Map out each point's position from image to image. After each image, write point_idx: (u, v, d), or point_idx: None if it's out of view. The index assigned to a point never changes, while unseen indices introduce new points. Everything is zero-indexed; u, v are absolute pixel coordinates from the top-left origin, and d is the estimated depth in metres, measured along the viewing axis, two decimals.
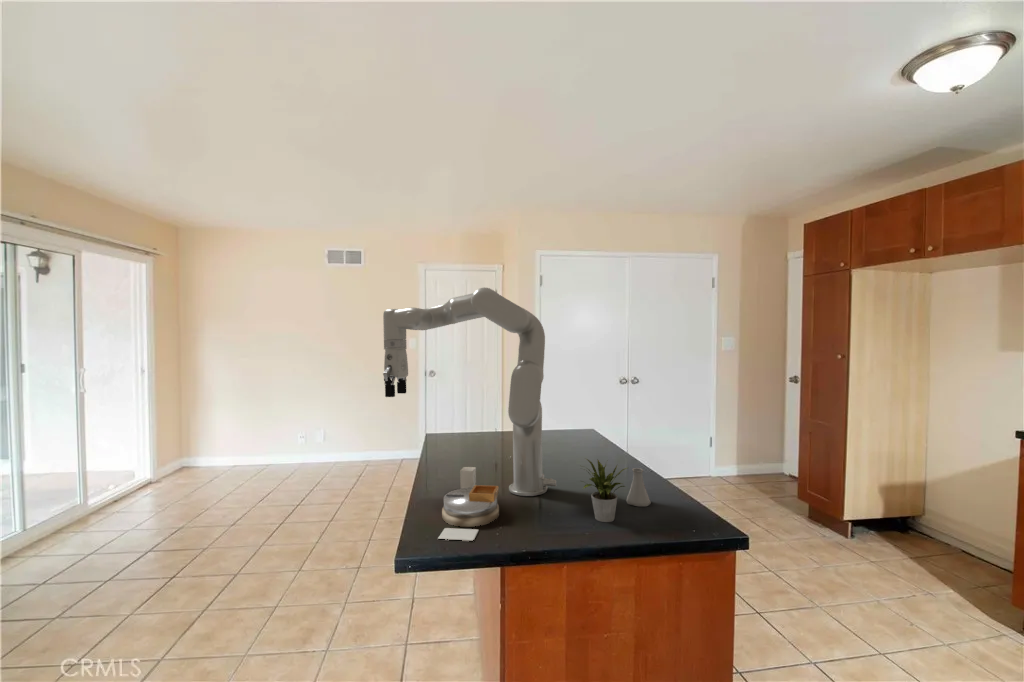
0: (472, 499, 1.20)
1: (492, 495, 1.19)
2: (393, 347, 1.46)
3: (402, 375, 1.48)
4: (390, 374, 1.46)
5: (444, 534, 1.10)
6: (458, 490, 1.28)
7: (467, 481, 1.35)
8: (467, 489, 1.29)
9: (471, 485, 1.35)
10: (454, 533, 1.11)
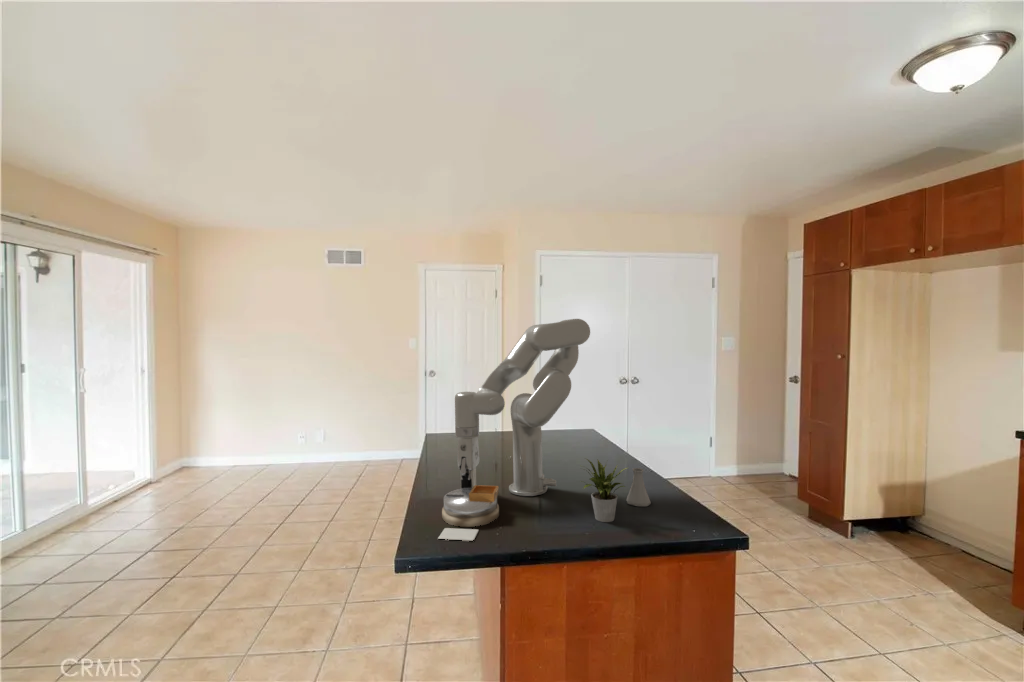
0: (472, 499, 1.20)
1: (492, 495, 1.19)
2: (467, 436, 1.34)
3: (475, 465, 1.36)
4: None
5: (444, 534, 1.10)
6: (458, 490, 1.28)
7: None
8: (467, 489, 1.29)
9: None
10: (454, 533, 1.11)
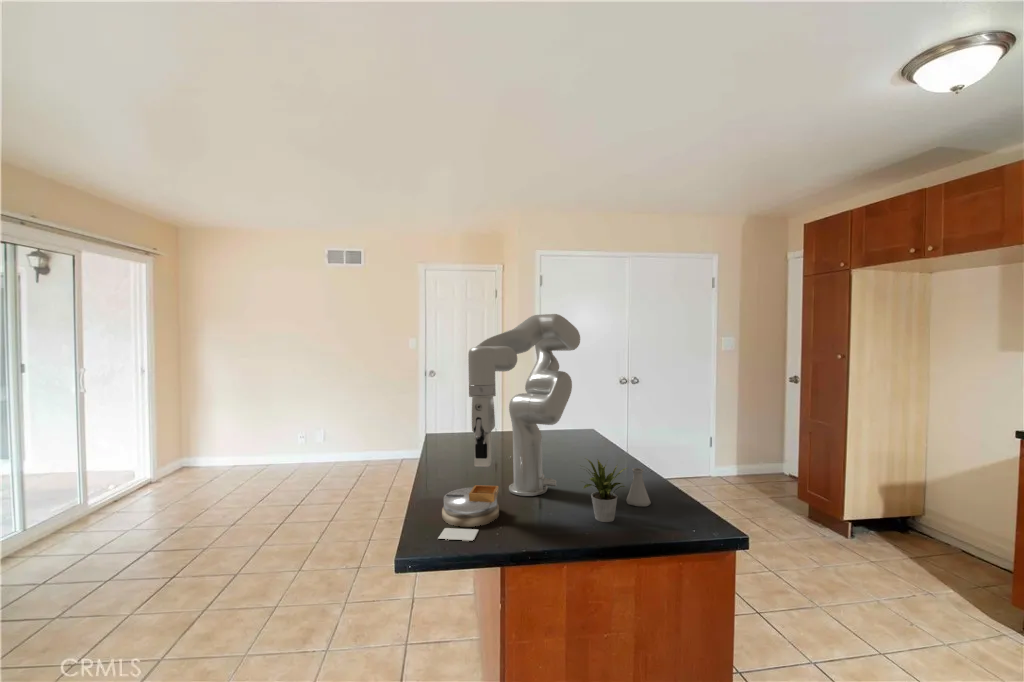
0: (472, 499, 1.20)
1: (492, 495, 1.19)
2: (482, 395, 1.19)
3: (491, 428, 1.21)
4: None
5: (444, 534, 1.10)
6: (458, 490, 1.28)
7: None
8: (467, 489, 1.29)
9: None
10: (454, 533, 1.11)
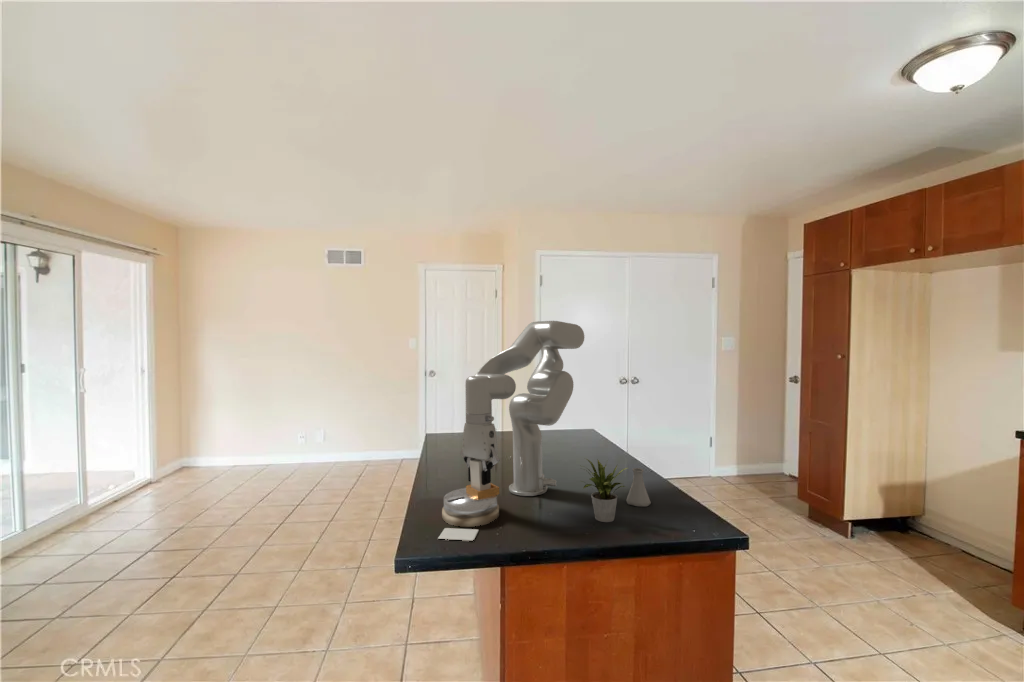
0: (480, 497, 1.21)
1: (498, 488, 1.24)
2: (490, 422, 1.25)
3: None
4: None
5: (444, 534, 1.10)
6: (448, 495, 1.24)
7: None
8: (455, 492, 1.26)
9: None
10: (454, 533, 1.11)
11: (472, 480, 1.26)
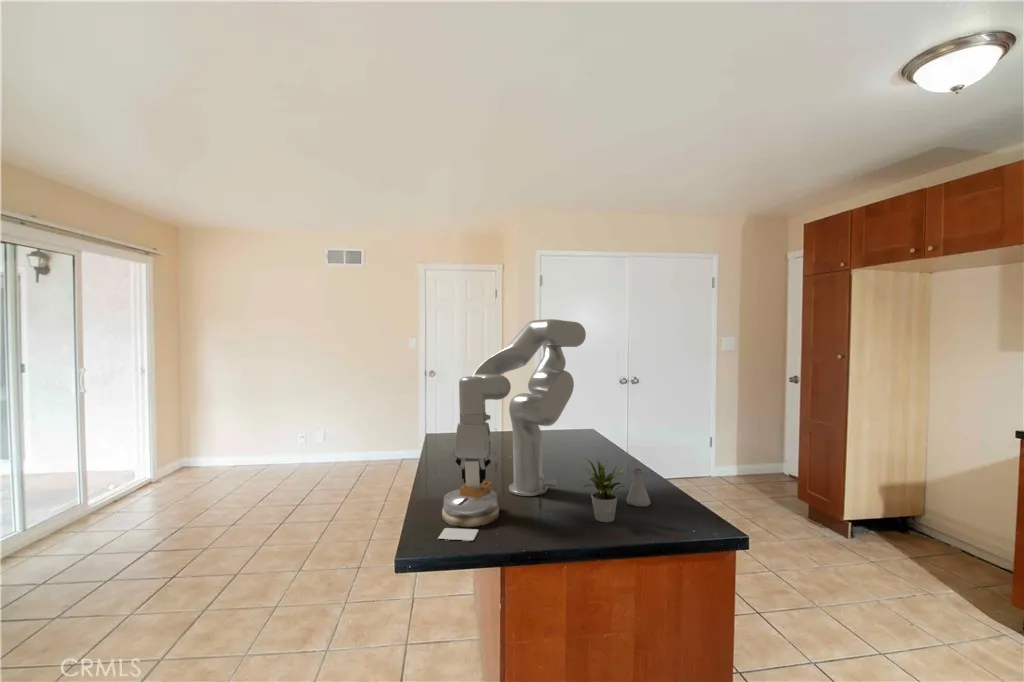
0: (483, 494, 1.24)
1: (491, 483, 1.29)
2: (485, 420, 1.28)
3: None
4: None
5: (444, 534, 1.10)
6: (448, 500, 1.21)
7: None
8: (451, 496, 1.23)
9: None
10: (454, 533, 1.11)
11: (468, 481, 1.25)
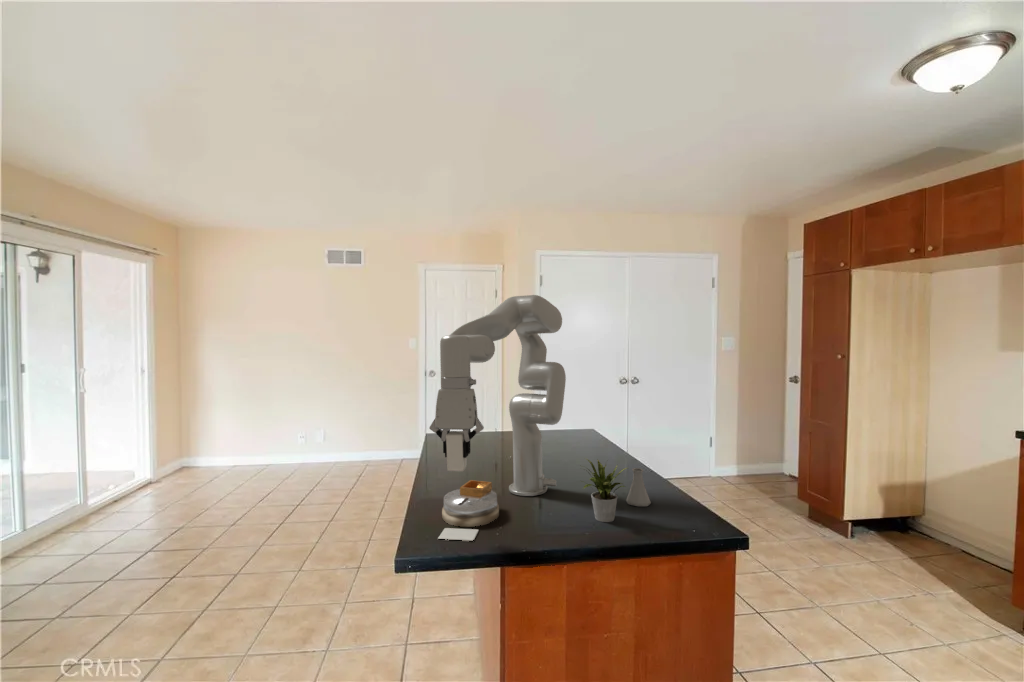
0: (483, 494, 1.24)
1: (491, 483, 1.29)
2: (470, 386, 1.11)
3: None
4: None
5: (444, 534, 1.10)
6: (448, 500, 1.21)
7: None
8: (451, 497, 1.23)
9: None
10: (454, 533, 1.11)
11: (450, 457, 1.08)
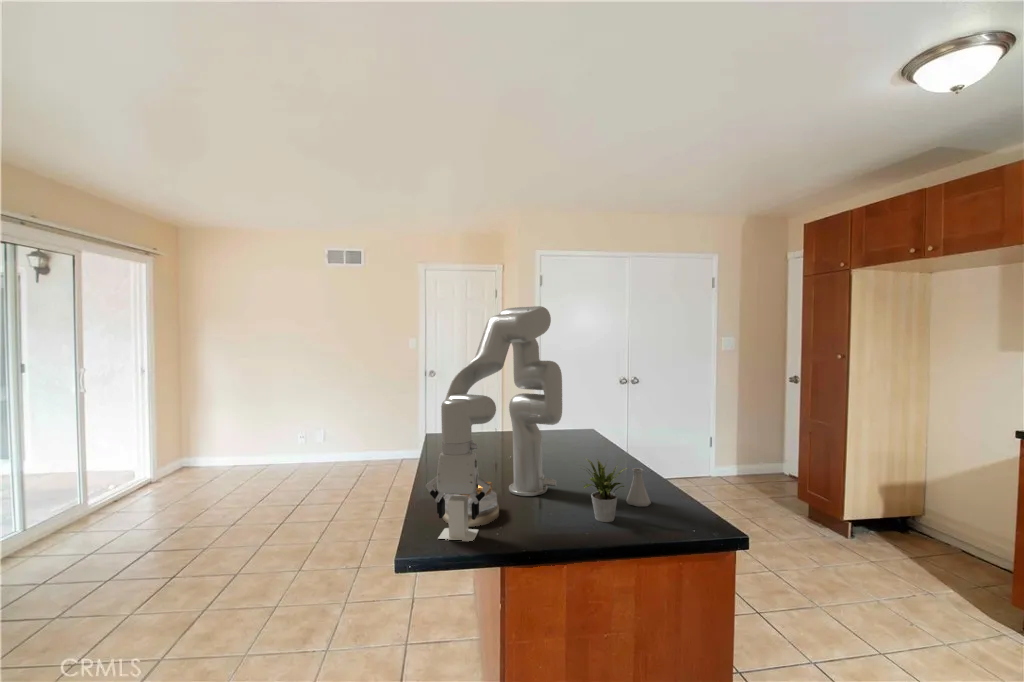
0: None
1: (491, 483, 1.29)
2: None
3: None
4: None
5: (444, 534, 1.10)
6: (448, 500, 1.21)
7: (466, 510, 1.11)
8: None
9: (467, 513, 1.12)
10: None
11: (451, 523, 1.09)
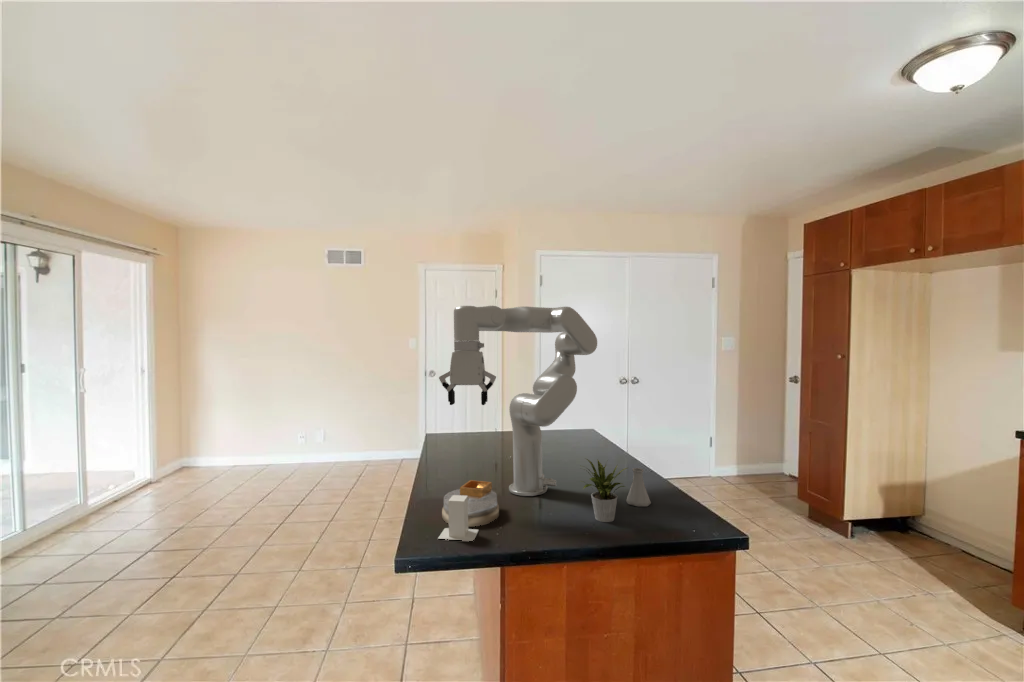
0: (483, 494, 1.24)
1: (491, 483, 1.29)
2: (479, 349, 1.31)
3: None
4: None
5: (444, 534, 1.10)
6: (448, 500, 1.21)
7: (466, 510, 1.11)
8: None
9: (467, 513, 1.12)
10: None
11: (451, 523, 1.09)
